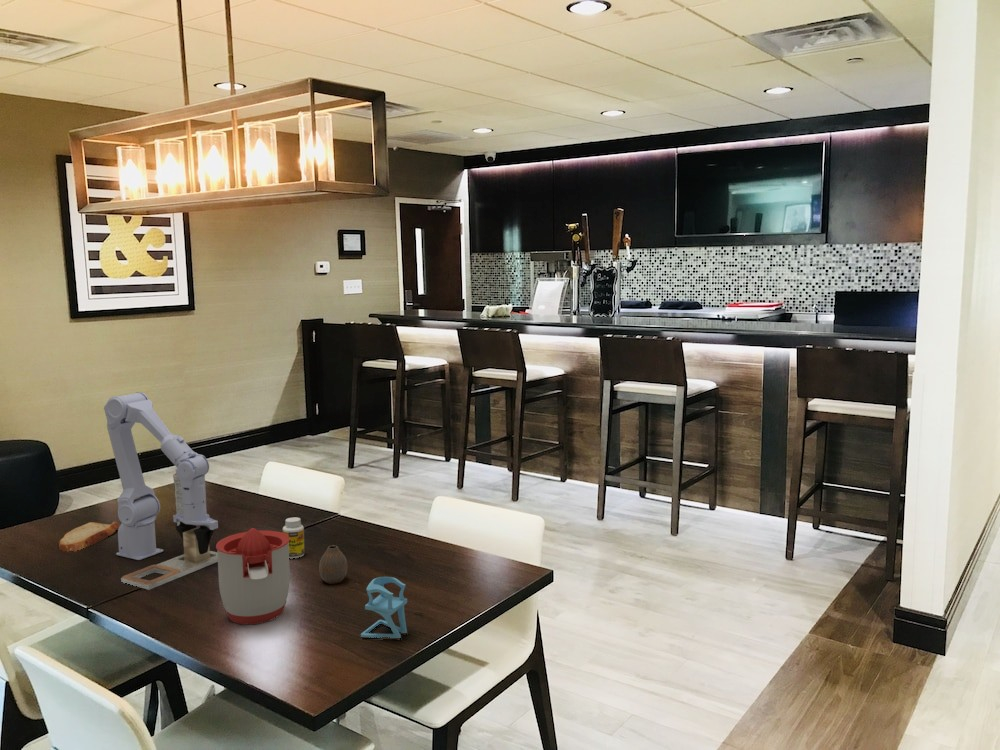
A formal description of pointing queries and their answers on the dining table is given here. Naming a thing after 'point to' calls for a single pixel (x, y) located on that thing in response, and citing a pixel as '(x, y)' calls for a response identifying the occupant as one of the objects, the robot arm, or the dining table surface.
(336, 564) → the vase
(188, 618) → the dining table surface
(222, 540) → the citrus juicer
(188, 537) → the birch peg
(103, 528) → the bread slice
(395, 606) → the chair
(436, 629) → the dining table surface
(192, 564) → the rail
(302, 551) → the supplement bottle
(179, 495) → the candy bar box
